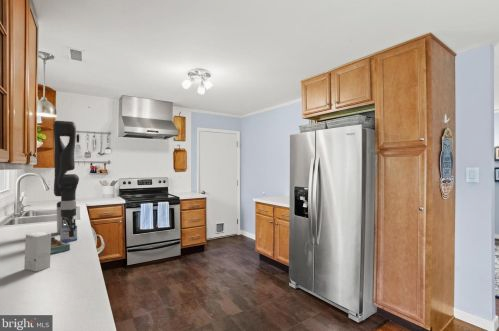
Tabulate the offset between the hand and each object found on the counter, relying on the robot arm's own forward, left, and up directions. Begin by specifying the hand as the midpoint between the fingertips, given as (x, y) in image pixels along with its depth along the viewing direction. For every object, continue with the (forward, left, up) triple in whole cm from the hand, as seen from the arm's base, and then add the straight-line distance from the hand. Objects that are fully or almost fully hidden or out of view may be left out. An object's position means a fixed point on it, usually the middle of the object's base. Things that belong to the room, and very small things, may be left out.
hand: (68, 235), depth 156 cm
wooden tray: (+9, -11, -3) cm, 14 cm away
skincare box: (+38, -24, -3) cm, 45 cm away
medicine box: (0, 0, -3) cm, 3 cm away
